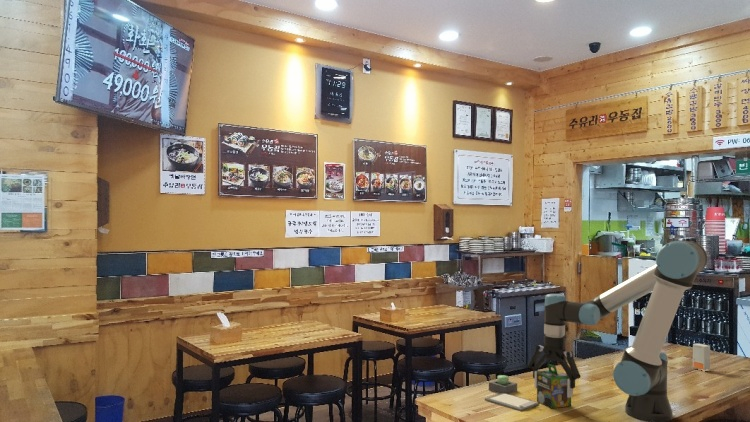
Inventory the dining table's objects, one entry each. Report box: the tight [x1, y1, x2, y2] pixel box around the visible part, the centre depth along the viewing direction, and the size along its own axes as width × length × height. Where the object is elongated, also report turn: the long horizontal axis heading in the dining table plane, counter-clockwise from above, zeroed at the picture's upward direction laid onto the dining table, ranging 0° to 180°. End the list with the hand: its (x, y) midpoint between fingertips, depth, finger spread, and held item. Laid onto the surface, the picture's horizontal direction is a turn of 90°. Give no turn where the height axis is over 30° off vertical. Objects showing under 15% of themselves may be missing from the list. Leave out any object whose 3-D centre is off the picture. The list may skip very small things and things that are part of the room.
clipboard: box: [484, 393, 540, 412], centre depth 208 cm, size 16×12×1 cm
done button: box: [496, 374, 510, 386], centre depth 224 cm, size 4×4×3 cm
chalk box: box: [536, 362, 572, 410], centre depth 208 cm, size 9×9×15 cm
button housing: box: [488, 379, 518, 394], centre depth 223 cm, size 8×8×3 cm
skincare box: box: [692, 342, 711, 370], centre depth 262 cm, size 6×4×12 cm
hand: (553, 392), depth 208 cm, fingers open, 13 cm apart
